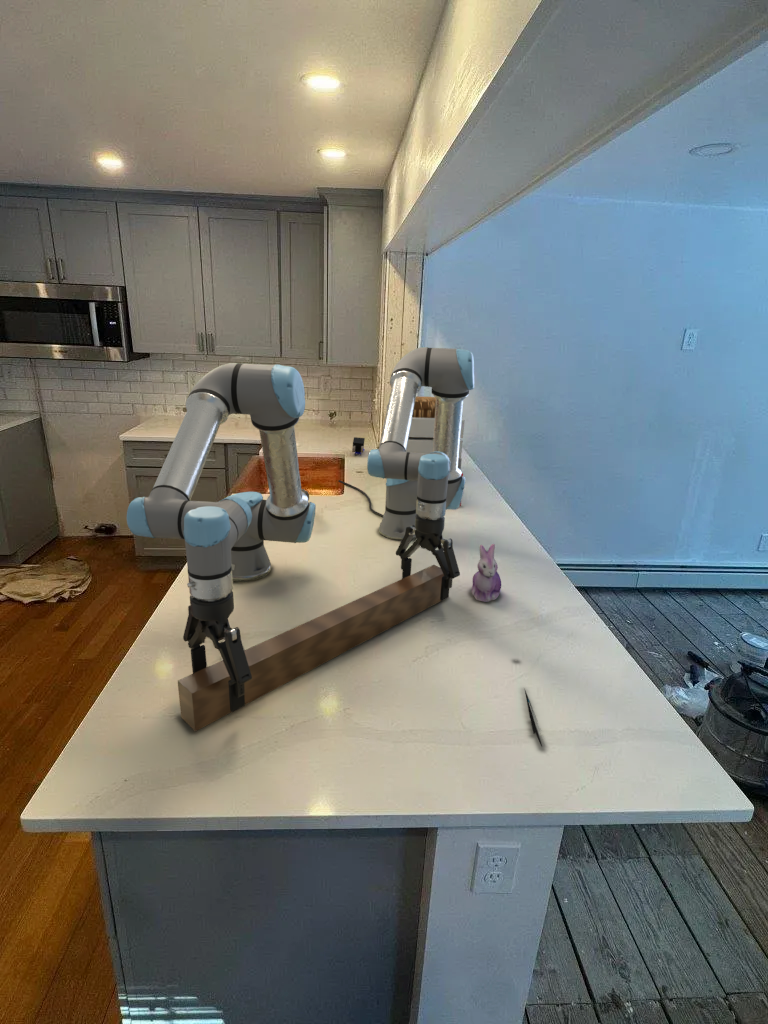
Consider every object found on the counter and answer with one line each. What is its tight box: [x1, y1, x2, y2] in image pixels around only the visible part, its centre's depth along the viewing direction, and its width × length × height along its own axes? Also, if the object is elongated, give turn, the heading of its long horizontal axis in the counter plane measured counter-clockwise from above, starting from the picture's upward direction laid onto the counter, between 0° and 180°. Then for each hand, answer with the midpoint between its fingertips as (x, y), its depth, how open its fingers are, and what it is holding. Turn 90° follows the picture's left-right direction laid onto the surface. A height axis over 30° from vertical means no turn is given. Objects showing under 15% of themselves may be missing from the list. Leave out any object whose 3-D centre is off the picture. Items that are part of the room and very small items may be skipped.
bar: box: [177, 564, 449, 732], centre depth 131 cm, size 76×5×8 cm, turn 137°
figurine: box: [471, 543, 502, 603], centre depth 157 cm, size 9×10×15 cm
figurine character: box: [351, 436, 365, 456], centre depth 305 cm, size 7×8×15 cm
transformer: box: [386, 395, 465, 471], centre depth 268 cm, size 34×33×41 cm
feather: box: [515, 659, 545, 747], centre depth 116 cm, size 2×28×2 cm
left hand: (218, 691), depth 109 cm, fingers open, 13 cm apart
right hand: (424, 589), depth 152 cm, fingers open, 13 cm apart
